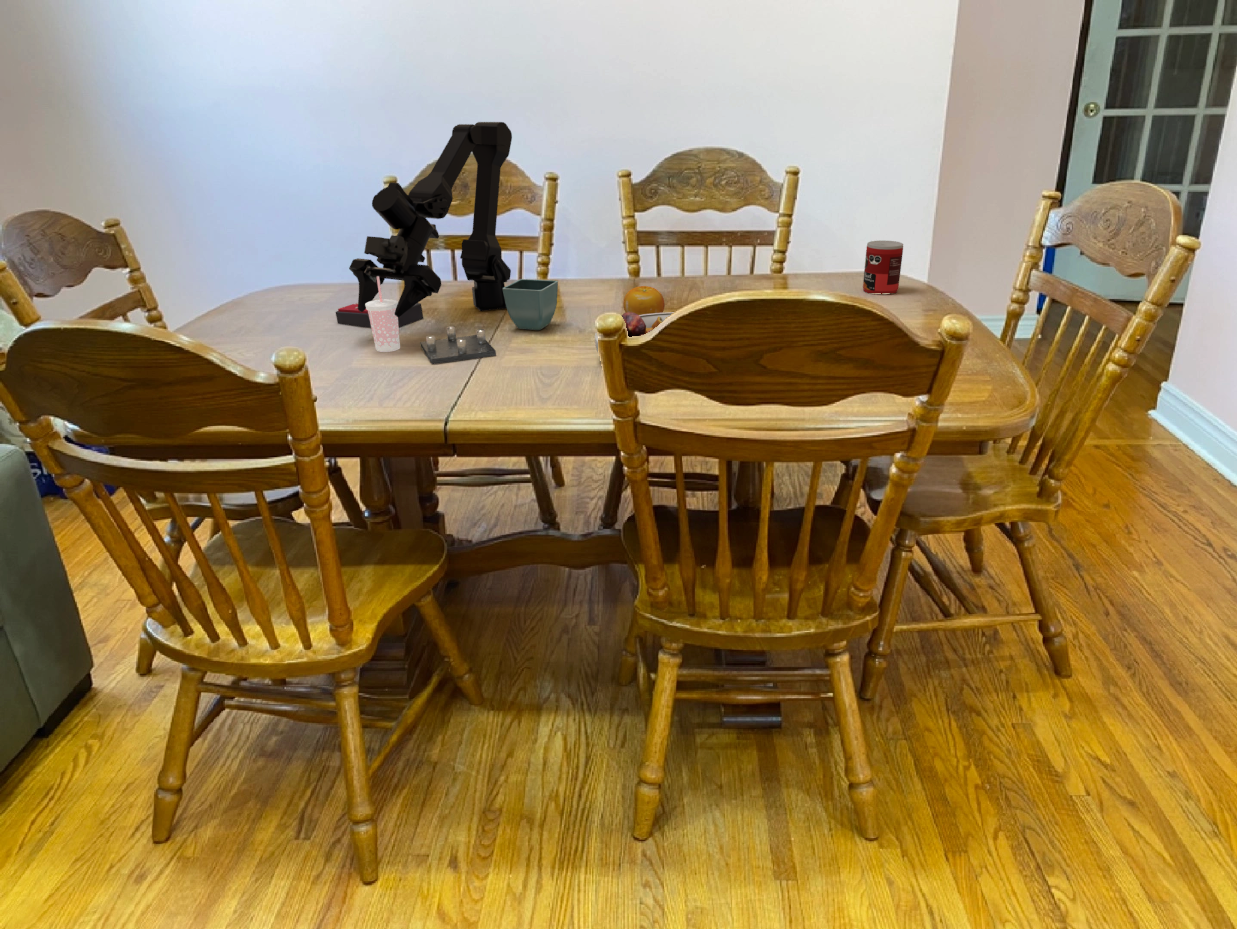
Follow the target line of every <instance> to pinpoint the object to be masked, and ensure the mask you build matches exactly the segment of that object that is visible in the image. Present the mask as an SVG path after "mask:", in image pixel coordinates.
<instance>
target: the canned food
mask: <svg viewBox="0 0 1237 929" xmlns="http://www.w3.org/2000/svg"><path fill="white" fill-rule="evenodd" d="M903 253H904V243H902V242H900V241H894V240H873V241H872V240H871V241H868V242H867V245H866V251H865V259H864V260H865V262H864V268H863V269H864V271H863V280H862V290H863V292H864V291H865V292H864V293H866V292H867V293H866V294H869V293H881V294H882V293H895V294H896V293H898V291H899V286H900V277H901V270H902V261H903Z"/></svg>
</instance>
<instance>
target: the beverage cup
mask: <svg viewBox="0 0 1237 929" xmlns="http://www.w3.org/2000/svg"><path fill="white" fill-rule="evenodd" d="M377 283H378V290H379V292H378V296H379V299H380V300H373V301H370V302H367V303H366V304H365V306H366V309H367V310H368V314H369V319H370V323H371V328H370V329H371V332H372V337H373V342H374V346H375V351H377V352H381V353H389V352H390V353H391V352H395V351H398V350H400V348H401V343H400V341H401V340H400V328H399V326H398V317H397V316H396V315H395V310H396V307H397V304H398V301H397V300H398V299H391V298H383V294H382V287H381V285H380V279H379V276H377Z"/></svg>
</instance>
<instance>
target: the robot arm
mask: <svg viewBox="0 0 1237 929" xmlns="http://www.w3.org/2000/svg"><path fill="white" fill-rule="evenodd" d="M512 140H513V134H512V131H511V129H510V127H509V126H508V125H507V124H506V122H503V121H478V122H476V123H475V124H472V123H471V124H470V123H465V124H464V123H463V124H462V123H459V124H457V125H455V126H454V127H453V128H452V130H451V136H450V137H449V140H448V141H447V143H446V145H445V146H444V149H443V150H442V152H441V153H440V155H439V157H438V159H437V161H436V163H435V164H434V166H433V168H432V169H431V171H430V172H429V174H428V175H427V176H425V177H423V178H422V179H420V180H418V181H417V182H416V184H415V185H414V186H413V187H412V188H411V190H410V191H409V193H408V194H407V193H406V191H405V190H404V188H403V187H402V185H400V183H399V182H389V183H388V185H387V186H386V187H384V188H382V189H381V190H379V191H378V192H377V193H376V194H374V196H373V198H372V200H371V206H372V208H373V210H375V212H376V214H378V215H379V216H380V217H381V219H383V221H385V222H386V224H387V225H389V227H390V228H391V229H394V230H398V232H397V234H396V235H395V234H393V235H392V234H391V236H390V238H385V237H381V236H366V240H365V245H364V247H365V248H364V252H363V254H365V255H371V256H374V257H375V258H376V262H378V263H379V264H381V265H382V267H379V266H378V265H377V264H376V263H375V262H374V261H373V260H372V259H368V258H367V259H366V258H360V257H359V258H355V259H354V258H353V259H352V261H351V264H350V265H349V267H348V268H349V270H350V271H351V272H352V274H353V276H355V277H356V279H357V281H358V298H357V300H358V301H357V303H358V310H359V311H360V312H363V311H364V310H365V309H366V306H365V304H366V303H367V302H370V301H372V300H373V299H375V297H376V296H377V295H378V294H379V290H378V283H377V276H379V279H380V286H381V285H383V284H384V281H385V279H386V280H396V281H403V284H404V287H403V290H402V291H401V294H400V297H399V299H398V300H399V302H398V304H397V307H396V310H395V315H396V316H397V317H400V316H401V315H402V314H404V313H405V312H406V311H407V310H409V309H410V308H411V307H413V306H414V305H415V304H417V303H420V302H421V301H422V300H424V299H425V298H427V297H431V296H432V295H433V294H438V293H439V291H440V289H441V287H442V280H441V278H440V276H438V274H437V273H436V272H435V271H434V270H433V269H432V268H431V267H430V266H429V265H427V264H419V263H424V262H425V260H426V257H425V256H424V254H423V253H424V251H425V249H426V246H427V244H428V241H429V240H430V239H439V238H440V235H439V231H438V230H437V225H436V224H435V223H430V221H429V220H428V219H433V220H435V219H436V220H441V219H444V218H445V217H446V216H447V214H448V213H449V210H450V208H451V206H452V203H453V199H454V198H453V191H452V190H453V187H454V184H455V183H456V181H457V180H458V177H459V176H460V174H461V172H462V170H463V169H464V167H465V166H466V163H467V162H468V160H469V158H470V156H471V154H472V155H473V157H474V159H475V161H476V165H477V167H476V180H475V192H474V193H475V194H474V204H473V205H474V206H473V207H474V208H473V217H472V218H473V219H472V220H473V221H472V232H471V234H470V235H469V237H468V239H466V238H465V239H463V240H462V242H461V253H460V256H459V257H460V258H459V259H461V267H462V268H463V270H464V274H465V277H466V280H467V281H470V282H471V281H472V282H473V286H472V287H471V292H472V302H473V306H474V307H475V308H476V309H477V310H478V311H479V312H489V311H496V310H504V309H505V310H506V309H507V307H506V303H505V298H504V294H503V288H504V287H506V286H505V283H507V282H508V281H510V279H511V274H512V270H511V268H510V267H509V265H507V264H506V262H505V261H504V260H503V259H502V247H501V245H500V243H499V241H498V239H497V236H496V231H497V220H498V219H497V217H498V206H499V205H498V204H499V191H500V178H501V169H502V166H503V165H504V163H505V161H506V160H507V158H508V157H509V155H510V153H511V152H510V150H511V145H512Z"/></svg>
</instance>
